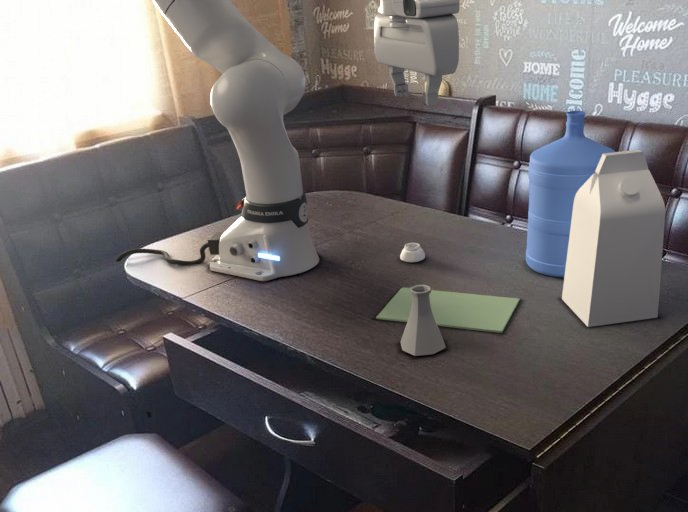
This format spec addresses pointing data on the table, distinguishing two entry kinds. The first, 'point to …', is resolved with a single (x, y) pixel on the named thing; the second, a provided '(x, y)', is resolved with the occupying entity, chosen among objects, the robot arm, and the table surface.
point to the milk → (616, 243)
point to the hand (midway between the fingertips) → (415, 100)
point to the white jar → (412, 253)
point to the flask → (421, 325)
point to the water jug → (558, 194)
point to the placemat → (456, 310)
